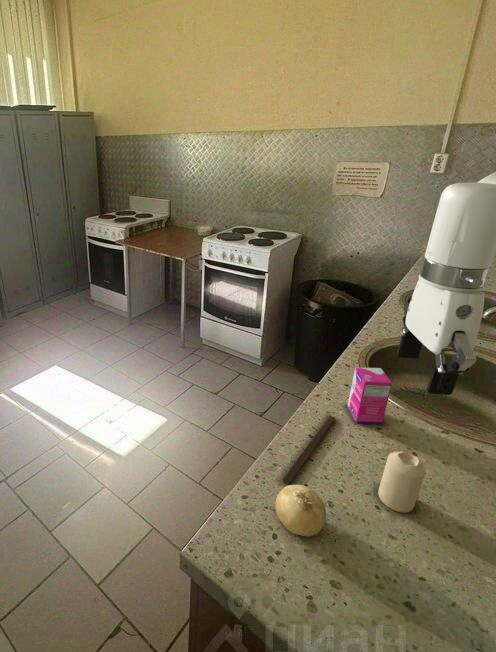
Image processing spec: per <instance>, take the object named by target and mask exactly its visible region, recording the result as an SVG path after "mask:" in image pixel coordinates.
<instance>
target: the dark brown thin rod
mask: <svg viewBox="0 0 496 652" xmlns="http://www.w3.org/2000/svg"><path fill="white" fill-rule="evenodd" d="M335 420H336V418H335V417H334V416H332V415H329V416H328V417H327V419H326V420H325V421H324V423H323V424H322V426H321V427H320V428H319V429H318V431H317V432H316V434H315V435H314V436H313V438H312V439H311V441H310V442H309V443H308V445H307V446H306V447H305V448H304V450H303V451H302V452H301V454H300V456H298V458H297V459H296V460H295V462H294V463H293V464H292V466H291V468H290V469H289V470H288V472H287V473H286V474H285V476H284V477H283V478H282V482H283V483H285V484H287V486H289V485H290V484H291V482H292V480H293V479H294V478H295V477H296V475H297V474H298V473H299V471H300V470H301V468H302V467H303V465H304V464H305V463H306V462H307V460H308V458H310V455H311V454H312V452H313V451H314V450H315V448H316V447H317V446H318V445H319V442H320V441H321V440H322V438H323V437H324V436H325V434H326V433H327V431H328V430H329V429H330V427H331V426H332V425H333V423H334V422H335Z"/></svg>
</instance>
